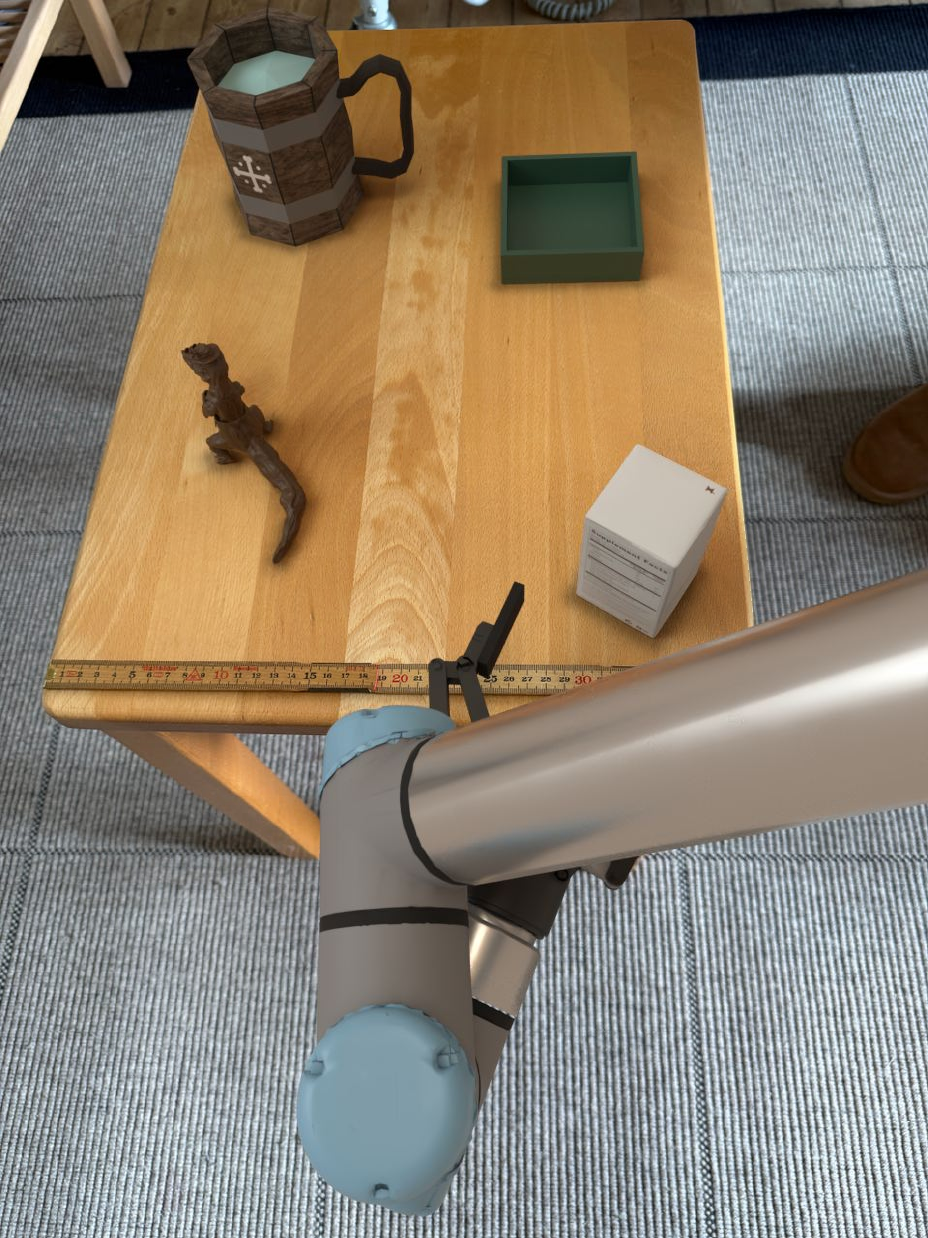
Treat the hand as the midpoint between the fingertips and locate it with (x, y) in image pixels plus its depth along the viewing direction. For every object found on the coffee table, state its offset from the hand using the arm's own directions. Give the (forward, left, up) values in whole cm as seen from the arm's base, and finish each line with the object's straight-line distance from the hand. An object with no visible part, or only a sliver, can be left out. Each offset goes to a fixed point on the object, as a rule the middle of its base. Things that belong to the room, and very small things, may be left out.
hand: (610, 624), depth 61 cm
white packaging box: (0, -8, -8) cm, 11 cm away
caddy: (+19, -42, -8) cm, 47 cm away
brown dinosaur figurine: (+33, -4, -8) cm, 35 cm away
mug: (+44, -38, -8) cm, 59 cm away
